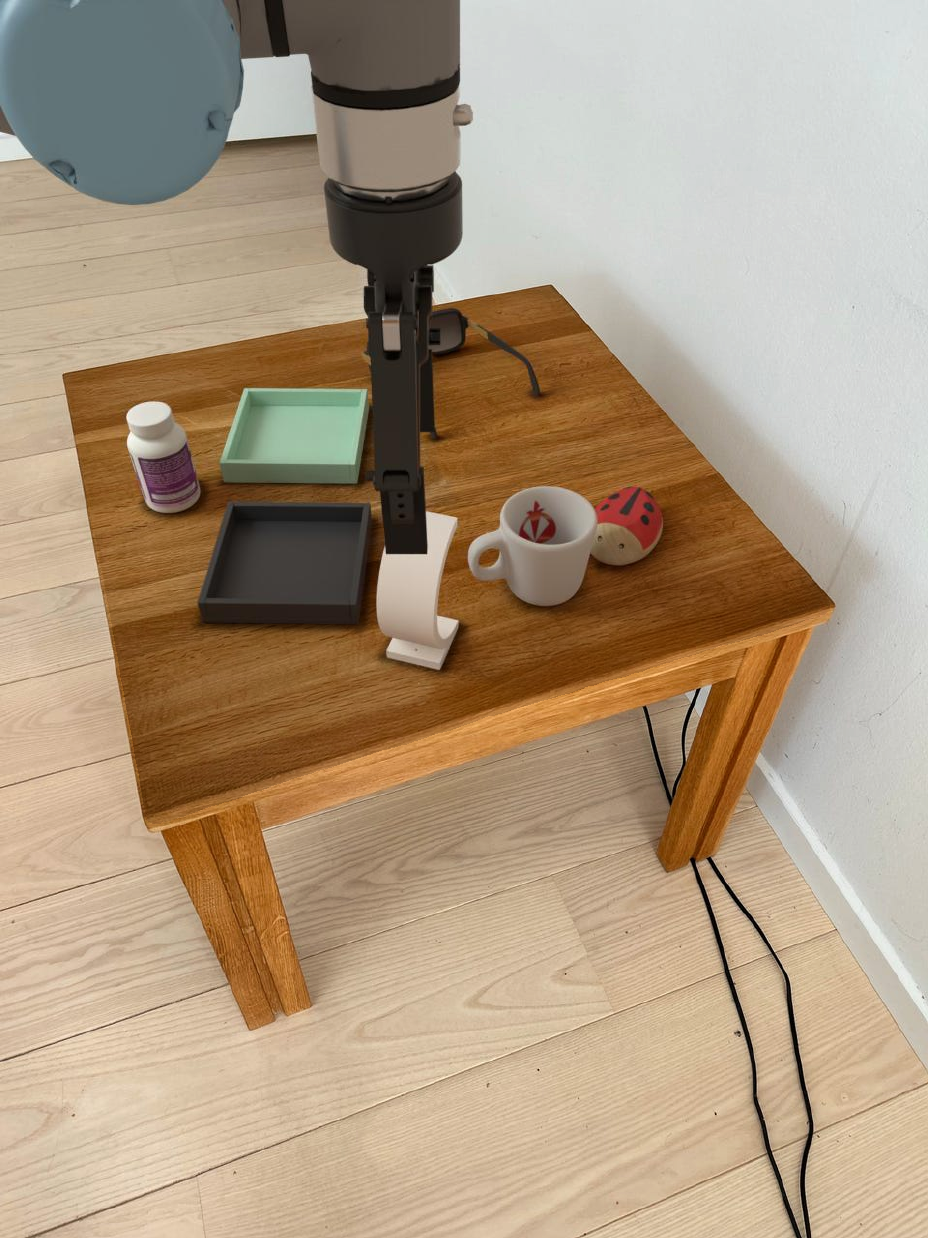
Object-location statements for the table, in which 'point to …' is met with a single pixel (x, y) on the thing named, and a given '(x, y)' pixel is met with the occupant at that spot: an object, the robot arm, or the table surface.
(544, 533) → the cup
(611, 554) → the ladybug figurine
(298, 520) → the charcoal tray
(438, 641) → the headphone stand
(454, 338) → the sunglasses
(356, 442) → the mint tray
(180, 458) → the pill bottle
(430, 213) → the robot arm
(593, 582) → the table surface
